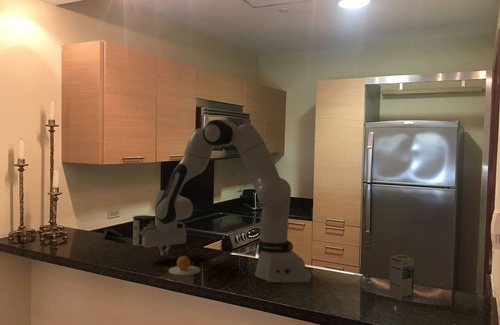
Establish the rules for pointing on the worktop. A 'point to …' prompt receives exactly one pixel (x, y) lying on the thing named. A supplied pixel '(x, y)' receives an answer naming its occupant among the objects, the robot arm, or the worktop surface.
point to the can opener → (113, 235)
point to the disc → (189, 271)
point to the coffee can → (140, 227)
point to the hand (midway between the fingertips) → (164, 255)
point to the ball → (183, 262)
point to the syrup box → (401, 277)
